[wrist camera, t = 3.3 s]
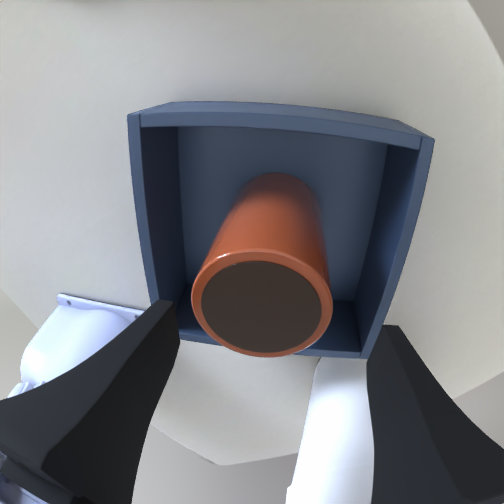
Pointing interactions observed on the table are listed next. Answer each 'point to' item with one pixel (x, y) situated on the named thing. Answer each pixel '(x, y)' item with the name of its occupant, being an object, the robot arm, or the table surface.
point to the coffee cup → (267, 271)
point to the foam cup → (336, 438)
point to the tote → (288, 162)
